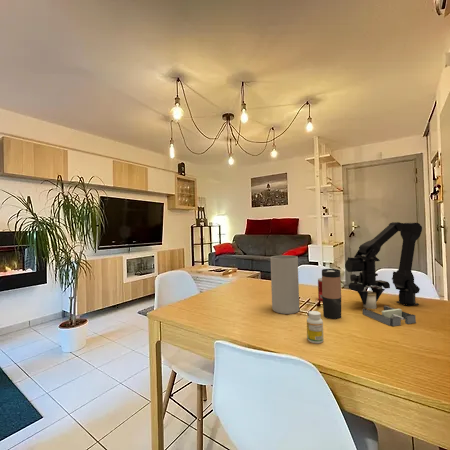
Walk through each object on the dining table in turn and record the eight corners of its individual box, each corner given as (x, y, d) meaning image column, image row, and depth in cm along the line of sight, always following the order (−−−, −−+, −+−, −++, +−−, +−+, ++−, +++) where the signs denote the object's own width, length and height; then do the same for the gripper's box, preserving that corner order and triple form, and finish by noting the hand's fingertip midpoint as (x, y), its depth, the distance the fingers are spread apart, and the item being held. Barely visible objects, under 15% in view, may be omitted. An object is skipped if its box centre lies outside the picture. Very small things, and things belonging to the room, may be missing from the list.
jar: (370, 304, 126) (369, 290, 126) (379, 308, 121) (379, 293, 121) (360, 305, 125) (359, 291, 125) (369, 309, 119) (368, 294, 119)
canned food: (336, 302, 131) (335, 280, 131) (319, 302, 133) (319, 280, 133) (333, 298, 138) (332, 277, 138) (317, 298, 140) (316, 277, 140)
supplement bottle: (320, 345, 86) (319, 316, 86) (304, 341, 90) (303, 313, 90) (325, 339, 90) (324, 312, 90) (310, 335, 94) (309, 309, 94)
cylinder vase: (304, 309, 123) (302, 256, 123) (291, 316, 113) (289, 259, 113) (280, 304, 131) (279, 254, 131) (267, 310, 122) (265, 257, 122)
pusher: (399, 317, 108) (399, 308, 108) (412, 322, 102) (411, 312, 102) (381, 319, 106) (381, 310, 106) (393, 324, 100) (393, 315, 100)
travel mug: (341, 314, 115) (339, 268, 115) (342, 320, 107) (341, 272, 107) (322, 312, 117) (321, 268, 117) (323, 318, 110) (321, 271, 110)
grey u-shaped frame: (385, 311, 116) (385, 304, 116) (417, 322, 102) (416, 315, 102) (362, 314, 114) (362, 307, 114) (391, 326, 99) (391, 318, 99)
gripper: (371, 266, 133) (372, 297, 133) (340, 269, 128) (341, 301, 128) (390, 270, 122) (391, 303, 122) (356, 273, 118) (357, 307, 118)
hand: (369, 303), depth 123 cm, fingers closed on jar, 5 cm apart
